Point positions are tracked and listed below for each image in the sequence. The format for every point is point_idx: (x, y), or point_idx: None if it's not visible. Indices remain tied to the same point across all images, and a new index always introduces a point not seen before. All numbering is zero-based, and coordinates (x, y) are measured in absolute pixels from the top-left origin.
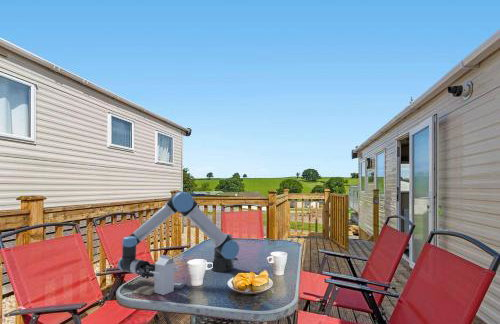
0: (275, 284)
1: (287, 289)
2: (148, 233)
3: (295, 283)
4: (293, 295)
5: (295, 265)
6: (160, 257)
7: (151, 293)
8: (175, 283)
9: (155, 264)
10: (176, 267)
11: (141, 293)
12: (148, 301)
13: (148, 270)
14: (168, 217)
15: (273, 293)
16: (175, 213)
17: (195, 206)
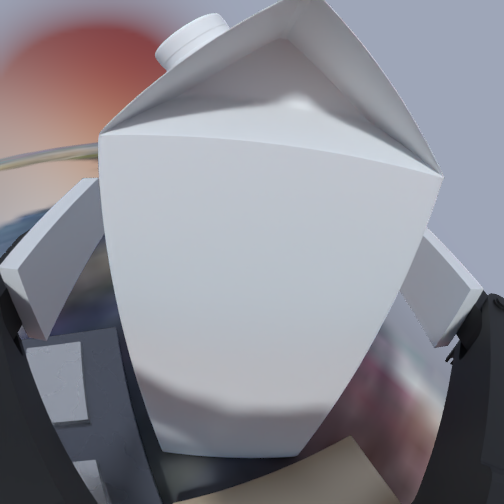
0: (25, 164)
1: (60, 150)
2: None
3: (21, 154)
4: (96, 142)
5: None
6: (324, 13)
7: (334, 445)
8: (46, 395)
9: (432, 187)
10: (93, 185)
11: (393, 501)
12: (405, 353)
13: (492, 351)
14: None
15: (90, 153)
16: None
17: None
